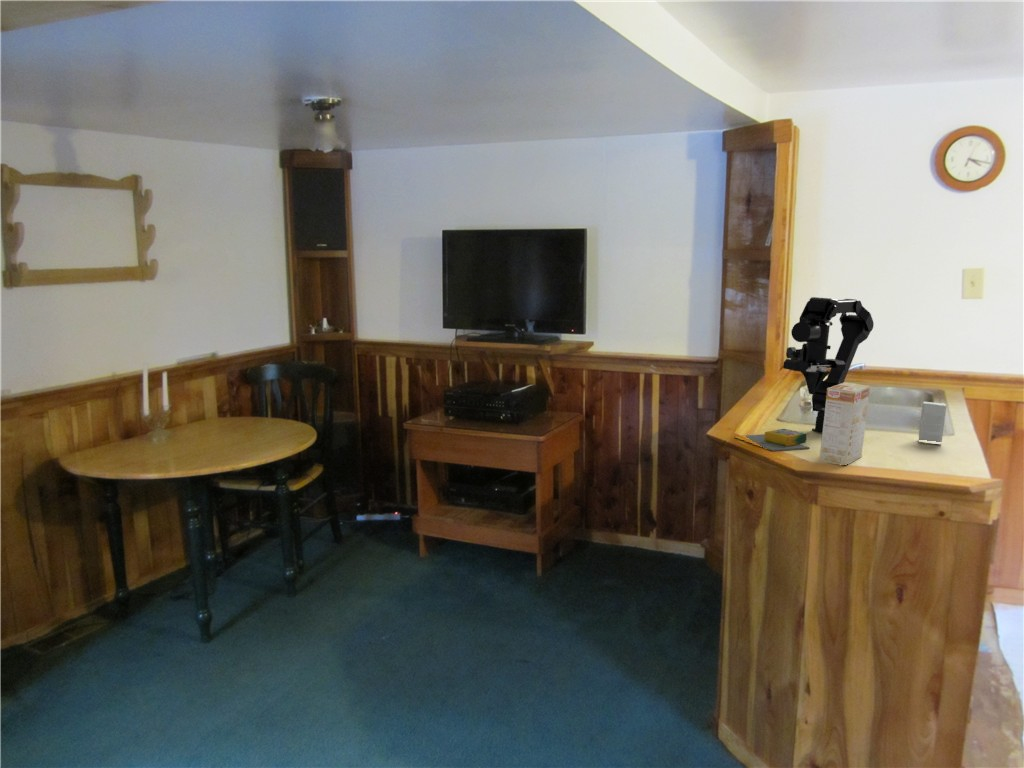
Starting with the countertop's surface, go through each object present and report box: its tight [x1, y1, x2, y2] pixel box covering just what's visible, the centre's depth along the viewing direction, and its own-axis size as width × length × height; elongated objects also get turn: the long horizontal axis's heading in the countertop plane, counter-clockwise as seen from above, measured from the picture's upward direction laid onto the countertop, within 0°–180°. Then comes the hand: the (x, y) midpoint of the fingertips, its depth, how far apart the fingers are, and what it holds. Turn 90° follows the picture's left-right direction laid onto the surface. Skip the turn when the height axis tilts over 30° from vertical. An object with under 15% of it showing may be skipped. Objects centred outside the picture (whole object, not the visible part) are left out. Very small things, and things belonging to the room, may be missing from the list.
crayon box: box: [762, 428, 807, 447], centre depth 217 cm, size 7×3×12 cm
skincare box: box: [918, 401, 947, 443], centre depth 228 cm, size 6×4×12 cm
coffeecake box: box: [818, 381, 871, 466], centre depth 202 cm, size 15×7×20 cm, turn 141°
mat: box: [744, 433, 810, 452], centre depth 218 cm, size 13×16×1 cm
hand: (811, 394), depth 226 cm, fingers closed
